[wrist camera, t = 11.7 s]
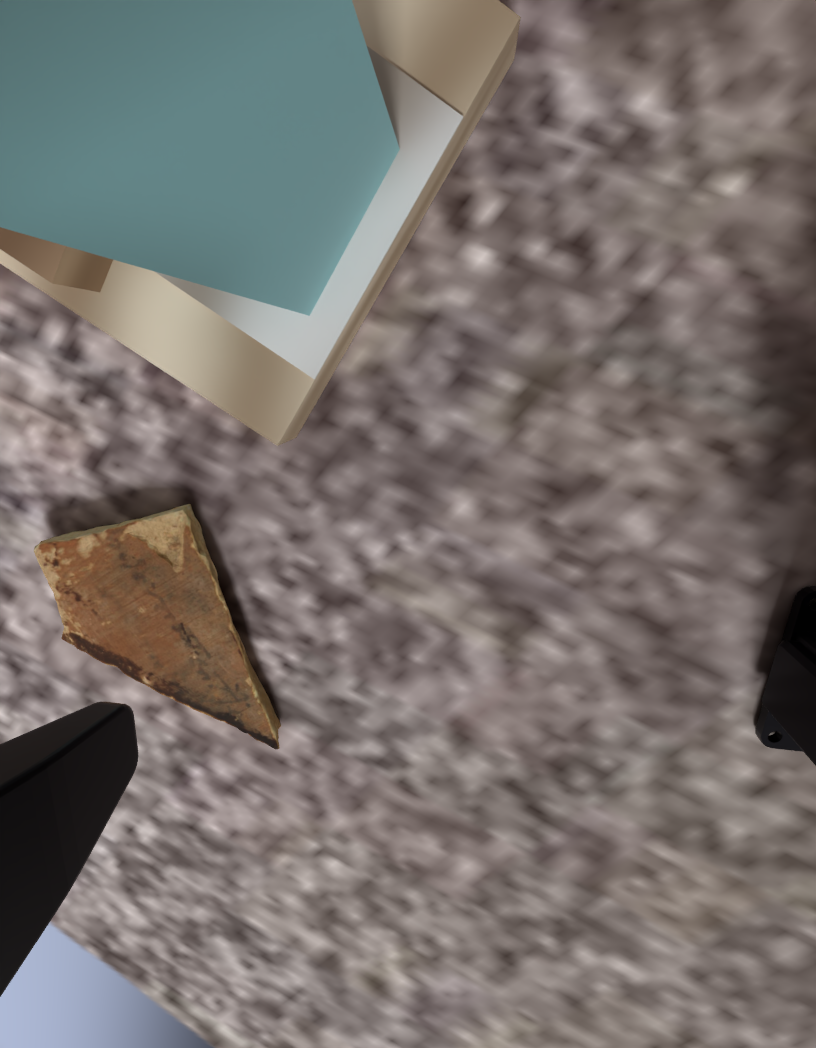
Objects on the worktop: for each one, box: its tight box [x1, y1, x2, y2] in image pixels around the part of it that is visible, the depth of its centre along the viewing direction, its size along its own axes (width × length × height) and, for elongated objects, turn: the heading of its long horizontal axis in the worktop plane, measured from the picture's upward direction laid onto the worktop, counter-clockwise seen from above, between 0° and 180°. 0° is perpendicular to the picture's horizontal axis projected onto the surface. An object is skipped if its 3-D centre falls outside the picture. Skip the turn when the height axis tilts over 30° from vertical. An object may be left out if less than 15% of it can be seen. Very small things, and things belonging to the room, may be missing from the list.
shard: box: [34, 504, 281, 749], centre depth 22 cm, size 11×8×2 cm
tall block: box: [0, 0, 400, 316], centre depth 9 cm, size 5×5×13 cm
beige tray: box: [0, 0, 520, 446], centre depth 14 cm, size 22×13×4 cm, turn 57°
